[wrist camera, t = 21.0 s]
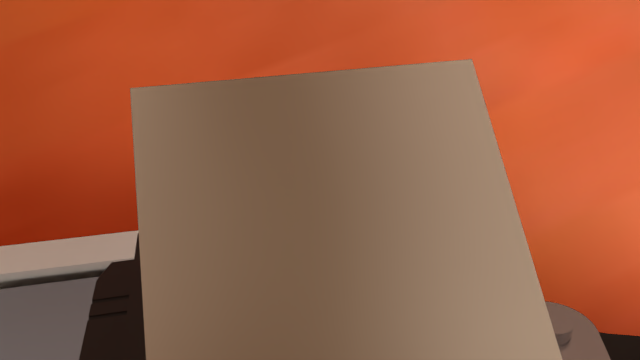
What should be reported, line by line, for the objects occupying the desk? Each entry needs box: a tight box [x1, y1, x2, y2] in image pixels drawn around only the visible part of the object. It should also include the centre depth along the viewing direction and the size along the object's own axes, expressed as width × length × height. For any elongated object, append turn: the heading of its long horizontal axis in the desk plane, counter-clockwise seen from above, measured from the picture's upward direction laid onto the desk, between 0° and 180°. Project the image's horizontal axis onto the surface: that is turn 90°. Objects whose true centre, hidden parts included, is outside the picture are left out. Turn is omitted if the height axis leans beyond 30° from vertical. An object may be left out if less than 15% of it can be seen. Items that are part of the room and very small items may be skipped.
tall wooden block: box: [130, 59, 562, 360], centre depth 11 cm, size 4×4×10 cm
